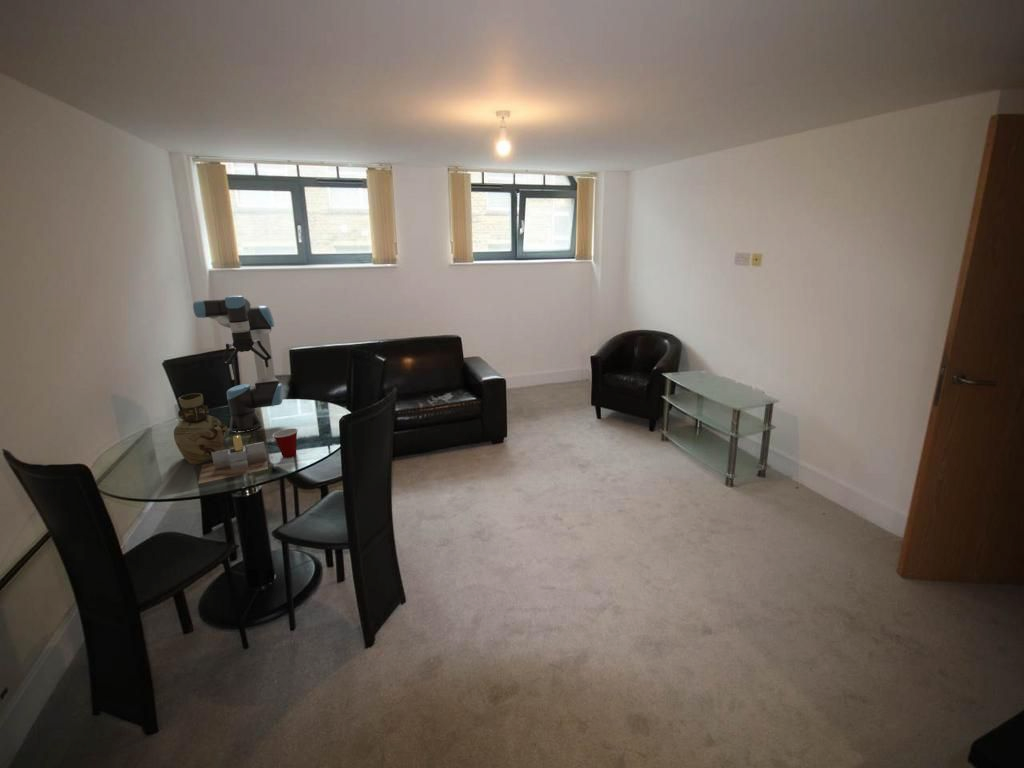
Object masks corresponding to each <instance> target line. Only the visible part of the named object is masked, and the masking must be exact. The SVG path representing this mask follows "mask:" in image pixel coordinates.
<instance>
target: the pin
mask: <svg viewBox="0 0 1024 768" xmlns="http://www.w3.org/2000/svg"><path fill="white" fill-rule="evenodd" d="M242 441H243V440H242V436H241V434H237V435H233V436H232V443H233V448H234V450H235V452H239V451H243V446H244V445H243V442H242ZM240 461H241V460H240Z"/></svg>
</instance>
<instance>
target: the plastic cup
mask: <svg viewBox="0 0 1024 768" xmlns="http://www.w3.org/2000/svg"><path fill="white" fill-rule="evenodd" d="M297 435H298V428H293V427H292V428H285V429H282V430H277V431H275V432H274V433H273V434H272V435H271V436H272V437H273V438H274V440H275V442H276V445H277V447H278V449H279V451H280V454H281V456H282V458H284V459H291V458H294V457H295V456H296V455H297V442H298V441H297V437H298V436H297Z"/></svg>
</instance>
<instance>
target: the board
mask: <svg viewBox="0 0 1024 768" xmlns="http://www.w3.org/2000/svg"><path fill="white" fill-rule="evenodd" d="M266 455H267V456H268V453H267V451H266ZM268 469H269V465H268V458H267V459H265V460H260V461H256V462H251V463H249V468H245V469H241V470H236V471H231V467H230V466H228V467H224V468H219V469H215V467H214V462H210V463H207V464H206V463H205V464H202V465H201V468H200V473H199V477H198V483H197V484H198V485H200V484H204V483H205V484H206V483H210V482H213V481H218V480H223V479H227V478H232V477H237V476H242V475H245V474H246V475H247V474H250V473H251V474H252V473H255V472H260V471H265V470H268Z"/></svg>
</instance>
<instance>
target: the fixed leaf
mask: <svg viewBox="0 0 1024 768" xmlns="http://www.w3.org/2000/svg"><path fill="white" fill-rule="evenodd" d="M245 447H246V452H247V459H245V460H241V461H235V462H230V467H231V471H236V470H241V469H245V468H249V463H251V462H256V461H260V460H265V459H267V460H268V454H267V455H266V452H267V451H266V446H265V442H264V441H259V442H255V443H251V444H250V443H249V444H246V445H245Z"/></svg>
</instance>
